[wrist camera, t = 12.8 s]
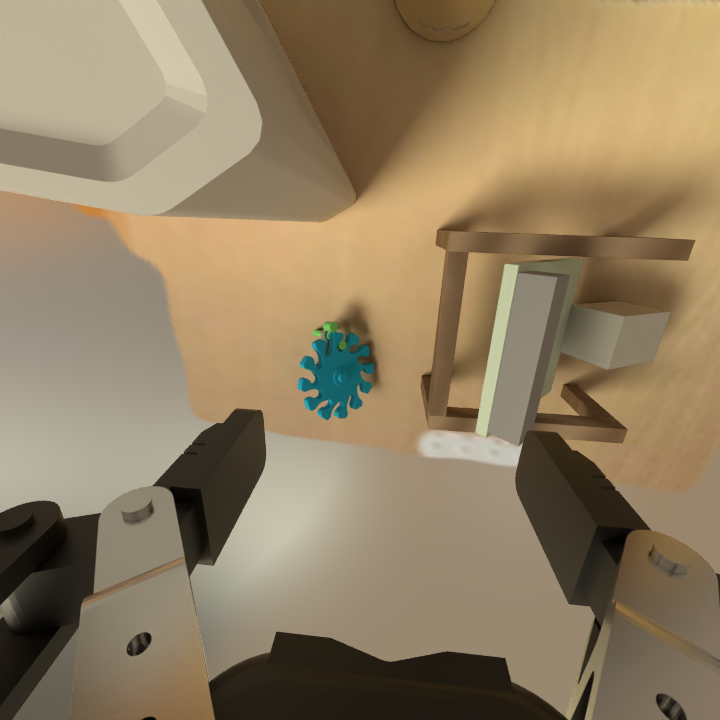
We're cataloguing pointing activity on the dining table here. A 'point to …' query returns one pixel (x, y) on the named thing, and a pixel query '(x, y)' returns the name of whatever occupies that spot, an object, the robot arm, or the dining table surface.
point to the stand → (457, 245)
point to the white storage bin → (161, 112)
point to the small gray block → (614, 333)
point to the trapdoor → (526, 344)
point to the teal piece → (335, 372)
